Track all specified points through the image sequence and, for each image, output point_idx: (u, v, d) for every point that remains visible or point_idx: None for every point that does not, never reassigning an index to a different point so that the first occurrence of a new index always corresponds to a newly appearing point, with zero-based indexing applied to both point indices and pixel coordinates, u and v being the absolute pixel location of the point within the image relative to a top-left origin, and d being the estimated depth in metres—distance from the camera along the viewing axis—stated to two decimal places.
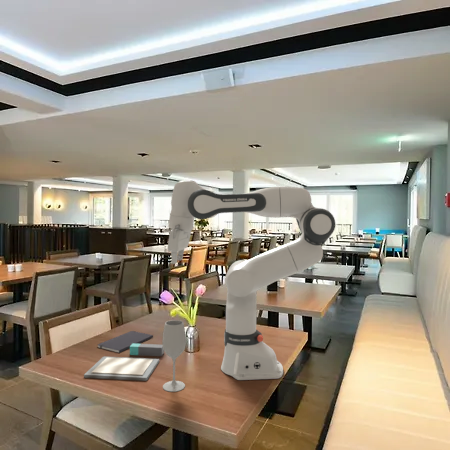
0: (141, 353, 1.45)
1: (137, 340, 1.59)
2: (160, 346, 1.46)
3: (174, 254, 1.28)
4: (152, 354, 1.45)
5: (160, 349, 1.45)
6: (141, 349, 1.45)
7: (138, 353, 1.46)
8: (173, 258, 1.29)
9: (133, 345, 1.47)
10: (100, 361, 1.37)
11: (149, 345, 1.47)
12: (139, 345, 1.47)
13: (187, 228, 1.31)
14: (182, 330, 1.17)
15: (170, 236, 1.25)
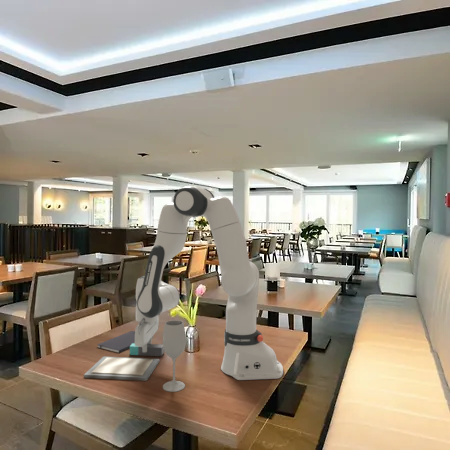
0: (141, 353, 1.45)
1: None
2: (160, 346, 1.46)
3: None
4: (152, 354, 1.45)
5: (160, 349, 1.45)
6: (141, 349, 1.45)
7: (138, 353, 1.46)
8: (143, 347, 1.44)
9: (133, 345, 1.47)
10: (100, 361, 1.37)
11: (149, 345, 1.47)
12: None
13: (152, 320, 1.43)
14: (182, 330, 1.17)
15: (136, 333, 1.37)
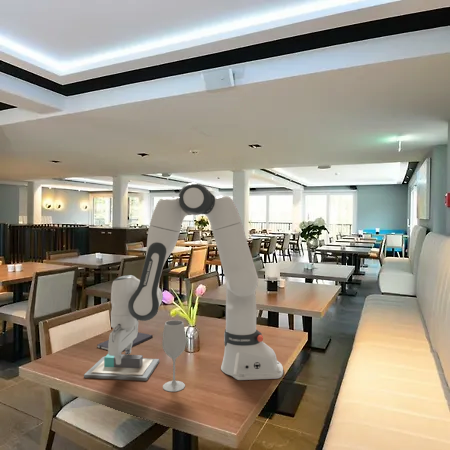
0: (117, 365, 1.31)
1: (137, 340, 1.59)
2: (138, 357, 1.31)
3: (117, 355, 1.26)
4: (129, 366, 1.31)
5: (138, 360, 1.30)
6: None
7: (114, 365, 1.31)
8: (117, 359, 1.27)
9: (108, 356, 1.32)
10: (100, 361, 1.37)
11: (126, 356, 1.32)
12: None
13: (129, 326, 1.29)
14: (182, 330, 1.17)
15: (109, 340, 1.23)
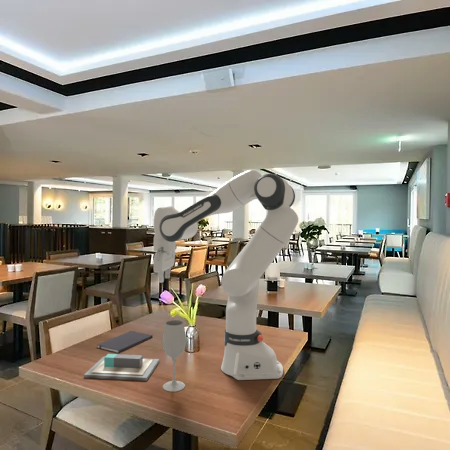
0: (117, 365, 1.31)
1: (136, 340, 1.59)
2: (138, 357, 1.31)
3: (160, 274, 1.43)
4: (129, 366, 1.31)
5: (138, 360, 1.30)
6: (116, 360, 1.31)
7: (114, 365, 1.31)
8: (160, 278, 1.44)
9: (108, 356, 1.32)
10: (100, 361, 1.37)
11: (126, 356, 1.32)
12: (115, 356, 1.32)
13: (170, 249, 1.46)
14: (182, 330, 1.17)
15: (155, 259, 1.40)
